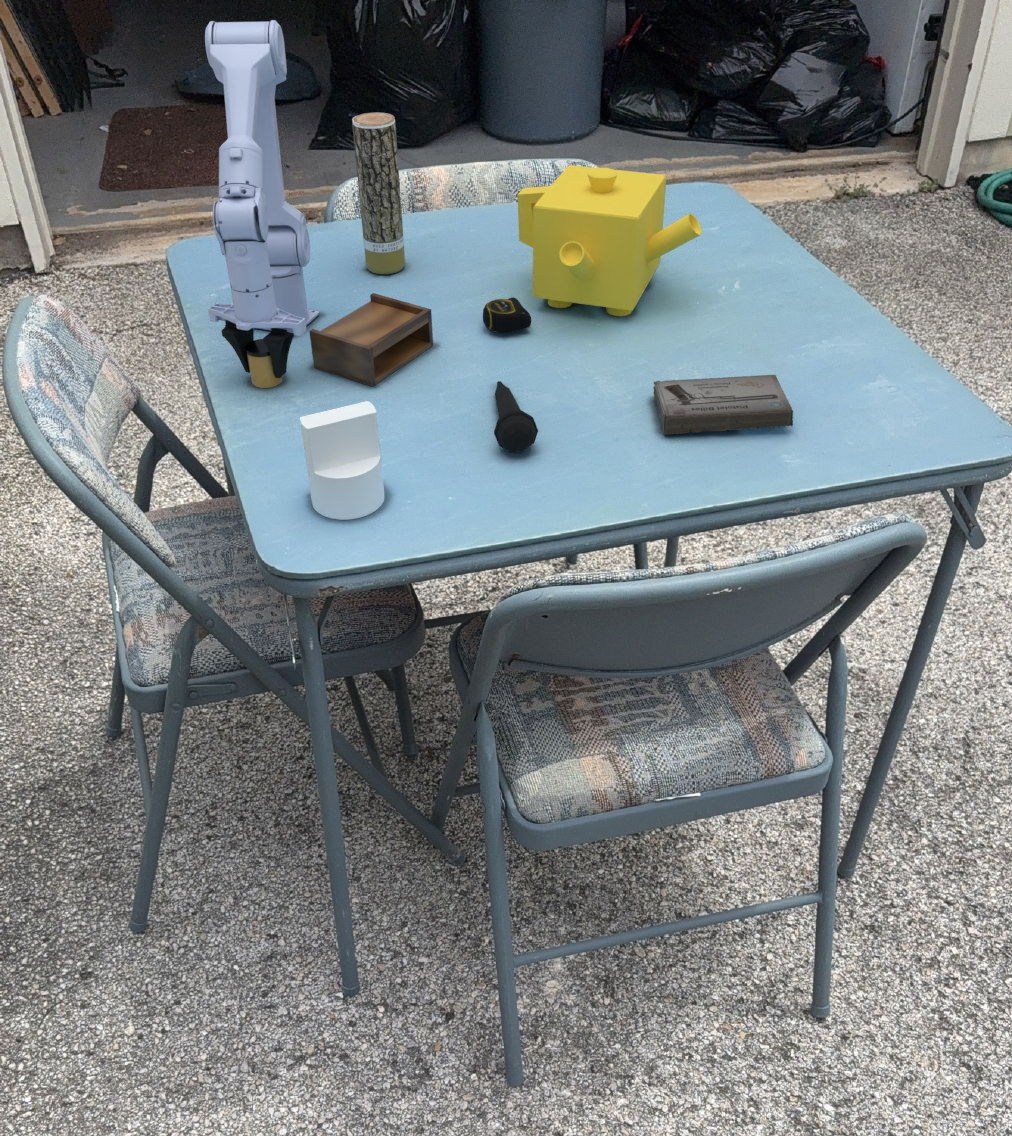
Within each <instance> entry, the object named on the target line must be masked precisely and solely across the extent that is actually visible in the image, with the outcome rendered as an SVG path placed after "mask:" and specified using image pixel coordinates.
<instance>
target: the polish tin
mask: <svg viewBox="0 0 1012 1136" xmlns="http://www.w3.org/2000/svg"><path fill="white" fill-rule="evenodd" d="M245 349H246V353H247V357H248V363H249V369H250V373H249V374H250V378H251V379H250V380H251V384H252V385H253V386H254V387H256V388H258V389H271V388H274V387H277V386H278V385H280V384H282V382H283V376H282V377H281V378H275V375H274V372H273V366H272V360H271V357H270V353H269V351H268V348H267V346H266V344H265V342H264V341H263V338H257V339H254V341H251V342H249V343H248V344H247V345H246V347H245Z"/></svg>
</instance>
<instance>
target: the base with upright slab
mask: <svg viewBox="0 0 1012 1136" xmlns="http://www.w3.org/2000/svg"><path fill="white" fill-rule="evenodd" d="M299 423H300V430H301V436H302V443H303V445H302V446H303V451H304V457H305V464H306V472H307V478H308V486H309V491H310V492H309V493H310V498H311V504H312V507H313V509H314V511H315V512H316V513H318V514H319V515H321V516H323V517H325V518H328V519H332V520H338V521H339V520H340V521H345V520H348V521H349V520H354V519H360V518H363V517H366V516H369V515H371V514H373V513H374V512H376V511H377V510H378V509H379V508H380V507H382V505H383V503H384V501H385V484H384V475H383V466H382V465H383V464H382V455H381V454H382V453H381V444H380V434H379V425H378V424H379V423H378V413H377V408H376V407H375V405H374V404H372V402H371V401H368V400H365V401H362V402H357V403H353V404H348V405H345V406H341V407H337V408H333V409H328V410H324V411H321V412H316V413H315V412H314V413H311V414H307V415H303V416H299Z"/></svg>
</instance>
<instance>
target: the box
mask: <svg viewBox="0 0 1012 1136" xmlns="http://www.w3.org/2000/svg"><path fill="white" fill-rule="evenodd" d="M653 385H654V386H653V388H652V389H653V402H654V406H655V408H656V412H657V416H658V419H659V424H660V426H661V430H662V433H663V435H664V436H665V435H677V434H678V435H680V434H684V435H685V434H689V433H696V434H698V433H702V432H706V433H707V432H722V431H724V432H726V431H735V430H737V431H739V430H753V429H768V428H769V429H770V428H782V427H783V428H784V427H793V425H794V420H793V419H794V410H793V407H792V406H791V404H790V402H789V400H788V398H787V396H786V394H785V392H784V390H783V388H782V385H781V383H780V381H779V379H778V377H777V375H776V374H762V375H759V374H758V375H749V376H748V375H745V376H744V375H743V376H725V377H709V378H708V377H707V378H693V379H692V378H691V379H671V380H668V379H667V380H663V381H661V380H655V381H653Z"/></svg>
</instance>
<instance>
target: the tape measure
mask: <svg viewBox="0 0 1012 1136" xmlns="http://www.w3.org/2000/svg"><path fill="white" fill-rule="evenodd" d="M482 323H483V324H484V326H485V327H486V328H487V329H488V330H490V331H491V332H493V333H497V334H512V333H515V332H519V331H523V330H526V329H529V328H530V327H531V325H532V316H531V314H530V313H529V312H528V310H527V309H526V308H525V307H524V306H523V305H522V304H521V301H519V300H518V298H517V297H514V296H513V297H508V298H497V299H493V300H490V301H488V302H487V303H486V304H485V305H484V308H483V310H482Z"/></svg>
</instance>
